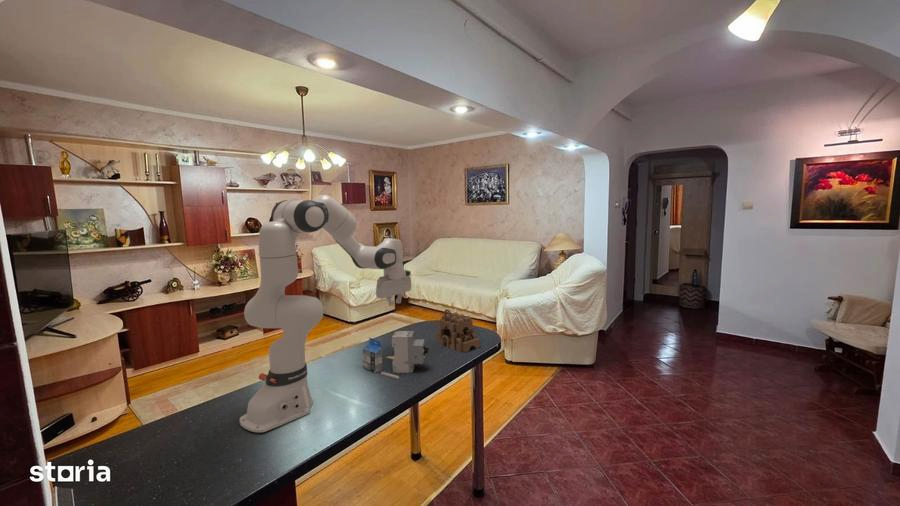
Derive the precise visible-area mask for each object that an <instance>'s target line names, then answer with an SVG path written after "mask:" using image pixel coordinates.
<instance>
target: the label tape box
mask: <svg viewBox="0 0 900 506" xmlns="http://www.w3.org/2000/svg"><path fill="white" fill-rule="evenodd" d="M368 340H369V343H368V344H367V345H366V346H364V347H363V348H362V362H363V363H362V368H364V369H366V370H368V371H370V372H372V373H375V374H376V373H379V372H383V349H382V348H383V346H382V341H380V340H378V339H374V338H372V337H369V339H368Z"/></svg>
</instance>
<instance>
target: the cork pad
mask: <svg viewBox="0 0 900 506" xmlns="http://www.w3.org/2000/svg"><path fill="white" fill-rule="evenodd" d="M394 357H395V356H394V355H392V356H391V355H389V356H385V358H387V359H390V360H392V361H393V360H394Z"/></svg>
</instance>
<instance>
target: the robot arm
mask: <svg viewBox="0 0 900 506" xmlns="http://www.w3.org/2000/svg"><path fill="white" fill-rule="evenodd" d="M357 224H358V223H357V220H356V218H355V216H354V215H353V214H352V212H350V211H349V210H348V209H347V208H346V207H345V206H344V205H343V204H341V203H340V202H339V201H337V200H336V199H334V198H332V196H331V195H328V194H319V195H317V196H315V197H314V198H313V199H312V200H311V199H310V200H309V199H308V200H307V199H306V200H305V199H295V198H294V199H285V200H281V201H279V202H277V203H276V204H274V206H273V208H272V211H271V213H270V217H269V222H266V223H264V224H262V225H261V227H260V229H259V234H258V235H259V236H258V256H259V264H260V283H259V286H258V289H257V291H256V294H255V295H254V296H253V297H252V298H251V299H249V301H248V302H247V303H246V304H245V306H244V310H243V311H244V312H243V314H244V316H243V317H244V318H245V322H246V323H247V324H248V325H249V326H252V327H256V328H260V329H282V333H283V334H282V336H281V337H280V338H278V339H276V340H274V341H273V342H272V343H271V345H270V346H269V349H268V358H269V370H268V371H267V374H266V373H263V372H262V373H259V375H258V377H257V378H258V380H261V381H265V383H264V384H263V385H262V386H261V387H260V388H259V389H258V390H257V392H256V393H255V394H254V395H253V396H252V397H251V398H250V399H249V400H248V402H247V410H246V413H245V414H244V415H242V416H240V417H239V425H240V427H242V428H243V429H245V430H247V431H249V432H253V433H265V432H268V431H270V430H272V429H275V428H278V427H280V426H282V425H284V424H287V423H289V422H291V421H294V420H297V419H299V418H301V417H303V416H307V415H308V414H310V412H311V407H312V405H313V403H314V401H313V399H312V396H311V392H310V389H309V384H308V365H307V363H306V341H307V337H309V336H308V335H309V333H310V332H311V330H313V328H315V327H316V326H317V325H319V323H320V322H321V320H322V319H323V316H324V306H323V303H322V302H321V300H320V299H319V298H318V297H314V296H309V295H304V294H303V295H298V294H297V295H292V294H291V295H286V294H285V293H286V292H285V291H286V290H285V289H286V287H287V286H289V285H292V284H293V283H294V282H295V281H296V280H297V278H298V276H299V266H298V257H297V247H296V240H297V239H296V238H297V236H298V234H299V233H306V234H307V233H314V232H317V231H319V230H321V229H322V228H323V230H324V231H325V232H327V233H328V234H329V235H330V236H332V238H333V240H334V241H335V243H336V244H338V245H339V247H341V248H342V249H343V250H344V251H345V252H346V253H347V254H348V255H349V256H350V258H351V260H352V263H353V264H354V266H356V267H357V268H358V269H371V270H372V269H373V270H383V275H382V276H379V277H378V279H377V280H376V289H375V296H376V297H377V298H378V299H386V301H387V303H388V306H389V307H392V306H394V304H395V303H396V304H401V303H402V298H403V293H406V292H410V291H411V290H412V277H411V275H412V271H411V270H407V269H404V264H403V259H404V251H403V250H404V249H403V243H402V241H401V239H399V238H395V237H385V238H383V241H382V242H381V243H379V244H378V245H377V246H370V245H363V244H361V243H359V242H358V241H357V240H356V238H355V237H354V236H353V235H354V234H355V233H356V230H357ZM393 296H397V297H396V299H395V303H394V301H393V300H392V299H393Z"/></svg>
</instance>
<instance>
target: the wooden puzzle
mask: <svg viewBox="0 0 900 506" xmlns="http://www.w3.org/2000/svg"><path fill="white" fill-rule="evenodd" d="M447 313H448V314H447ZM473 322H474V321H473V320H472V317H471V316H470V315H467V316H465V315H464V314H463V313H461V314H459V313H458V311H457V312H452V311H451V310H450V309H445V310H444V312H443V315H442V316H441V318H439V327H437V332H436V333H435V340H436V339H437V340H436V341H437V343H439V344H441V346H443V347H444V346H445V345H446V349H451V350H452V351H456V352H457V353H461V352H463V353H467V352H469V351H470V350H471V348H473V349H479V348H480V338H477V334H476V332H475V331H474V330H475V329H474V323H473Z"/></svg>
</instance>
